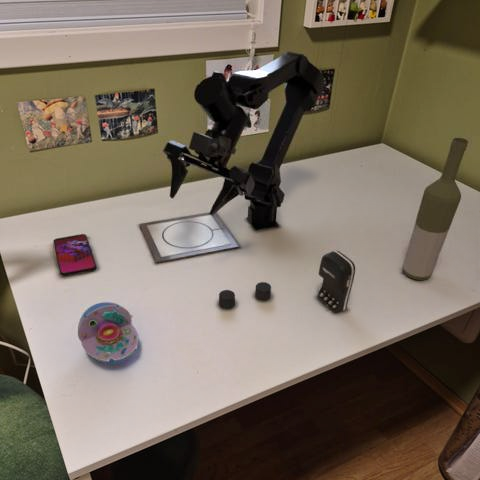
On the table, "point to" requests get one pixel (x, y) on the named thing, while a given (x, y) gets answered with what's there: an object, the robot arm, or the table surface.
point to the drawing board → (187, 237)
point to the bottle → (435, 217)
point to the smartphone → (74, 254)
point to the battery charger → (336, 280)
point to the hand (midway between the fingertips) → (190, 206)
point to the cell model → (107, 332)
